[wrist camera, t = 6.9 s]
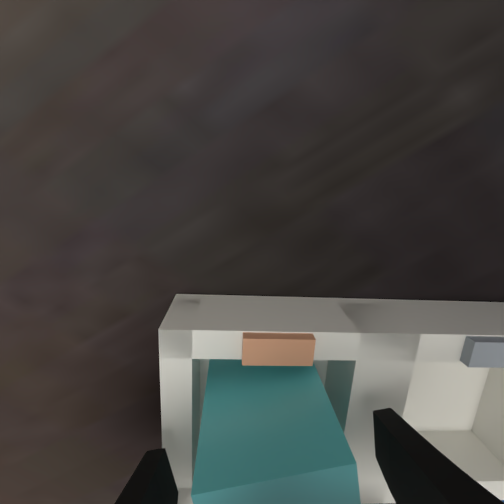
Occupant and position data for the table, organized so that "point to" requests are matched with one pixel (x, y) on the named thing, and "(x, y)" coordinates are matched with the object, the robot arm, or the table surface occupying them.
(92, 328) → the table surface
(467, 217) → the table surface
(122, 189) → the table surface
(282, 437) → the teal rectangular block
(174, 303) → the white divided tray
